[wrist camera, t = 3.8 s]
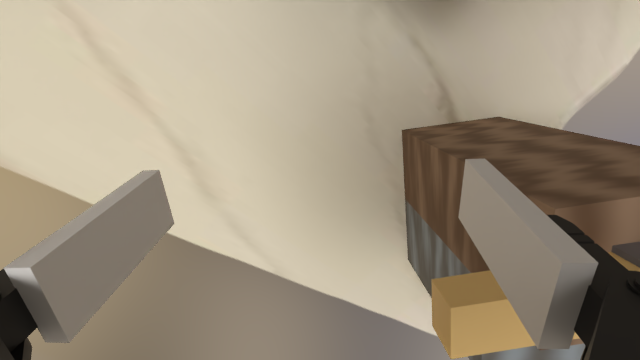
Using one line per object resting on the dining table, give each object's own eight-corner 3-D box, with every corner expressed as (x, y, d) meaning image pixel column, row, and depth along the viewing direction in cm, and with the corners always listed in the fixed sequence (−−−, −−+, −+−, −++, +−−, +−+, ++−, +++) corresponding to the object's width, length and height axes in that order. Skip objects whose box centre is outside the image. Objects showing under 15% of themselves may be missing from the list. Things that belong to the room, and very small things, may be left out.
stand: (408, 259, 61) (529, 456, 30) (401, 130, 53) (555, 209, 22) (492, 246, 61) (700, 426, 30) (498, 116, 54) (782, 175, 23)
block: (432, 331, 24) (458, 378, 21) (431, 273, 23) (458, 312, 19) (666, 294, 25) (732, 333, 21) (680, 235, 23) (754, 266, 20)
